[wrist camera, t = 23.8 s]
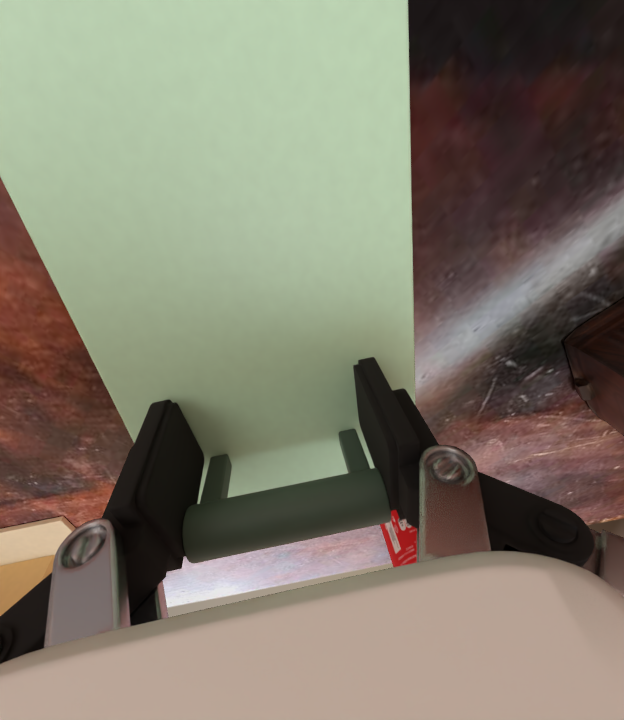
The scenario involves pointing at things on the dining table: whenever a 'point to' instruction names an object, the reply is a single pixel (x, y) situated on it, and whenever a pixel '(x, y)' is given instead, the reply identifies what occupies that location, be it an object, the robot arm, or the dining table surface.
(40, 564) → the tan wooden block
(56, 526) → the placemat
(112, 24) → the lunchbox lid
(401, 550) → the beverage can
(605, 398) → the manual coffee grinder
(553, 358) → the dining table surface
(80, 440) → the dining table surface
